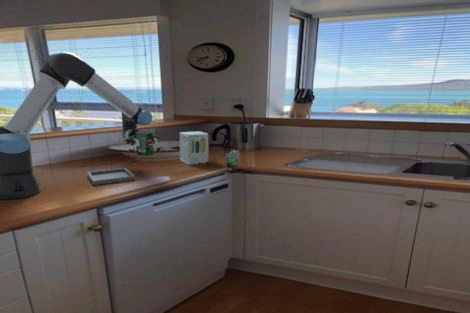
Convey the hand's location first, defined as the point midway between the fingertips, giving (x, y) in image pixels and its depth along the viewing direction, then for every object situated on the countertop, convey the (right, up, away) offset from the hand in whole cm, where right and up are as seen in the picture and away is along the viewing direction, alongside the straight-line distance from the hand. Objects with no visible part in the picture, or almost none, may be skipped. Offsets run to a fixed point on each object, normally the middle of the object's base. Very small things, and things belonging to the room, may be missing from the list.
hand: (147, 142), depth 142 cm
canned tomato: (-3, -6, +5) cm, 8 cm away
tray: (-19, -17, +6) cm, 26 cm away
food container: (+40, -14, +26) cm, 49 cm away
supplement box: (+16, -10, +43) cm, 47 cm away
